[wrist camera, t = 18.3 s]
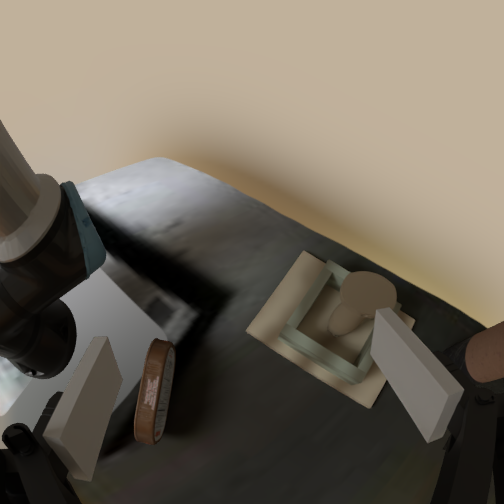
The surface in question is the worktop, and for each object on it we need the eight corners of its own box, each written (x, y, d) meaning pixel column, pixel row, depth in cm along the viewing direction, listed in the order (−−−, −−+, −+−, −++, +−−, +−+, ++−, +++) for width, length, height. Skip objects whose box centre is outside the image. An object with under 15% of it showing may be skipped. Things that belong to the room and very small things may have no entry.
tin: (163, 344, 46) (146, 331, 38) (183, 347, 46) (169, 335, 38) (146, 438, 39) (126, 443, 32) (166, 443, 39) (149, 450, 31)
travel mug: (442, 396, 41) (526, 378, 23) (430, 354, 44) (509, 318, 27) (474, 379, 42) (556, 352, 24) (462, 339, 45) (540, 299, 27)
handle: (353, 347, 44) (393, 320, 31) (312, 337, 45) (338, 306, 32) (359, 317, 47) (398, 279, 33) (319, 307, 47) (345, 265, 34)
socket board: (246, 331, 47) (245, 322, 42) (302, 253, 53) (307, 236, 48) (368, 408, 41) (382, 407, 36) (412, 321, 47) (428, 311, 42)
